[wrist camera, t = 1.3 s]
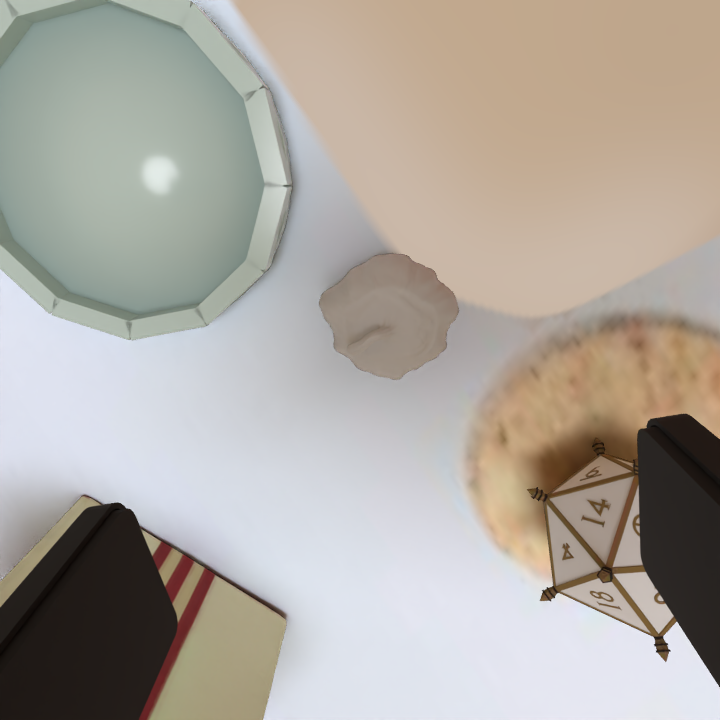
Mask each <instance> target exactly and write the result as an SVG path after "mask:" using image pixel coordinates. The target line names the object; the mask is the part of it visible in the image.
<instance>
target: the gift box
mask: <svg viewBox="0 0 720 720" xmlns="http://www.w3.org/2000/svg"><path fill="white" fill-rule="evenodd" d="M98 505H101V504H99V503H98V502H96V501H94V500H93V499H91V498H89V497H86V496H82V497H81V498H80V499H79V500H78V501H77V502H76V503H75V504H74V505H73V506H72V507H71V508H70V510H69V511H68V512H67V513H66V514H65V515H64V516H63V517H62V518H61V519H60V520H59V521H58V522H57V523H56V524H55V525H54V526H53V527H52V528H51V529H50V530H49V532H48V533H47V534H46V535H45V536H44V537H43V538H42V539H41V540H40V541H39V542H38V543H37V544H36V545H35V546H34V547H33V548H32V549H31V551H30V552H29V553H28V554H27V555H26V556H25V557H24V558H23V559H22V560H21V561H20V562H19V563H18V564H17V565H16V566H15V567H14V568H13V569H12V570H11V571H10V572H9V573H8V574H7V575H6V576H5V578H4V579H3V580H2V581H1V582H0V607H1V606H2V605H3V603H4V602H5V601H6V600H7V599H8V598H9V596H10V595H11V594H12V593H13V592H14V591H15V589H16V588H17V587H18V586H19V585H20V584H21V583H22V581H23V580H24V579H25V578H26V577H27V576H28V574H29V573H30V572H31V571H32V570H33V569H34V567H35V566H36V565H37V564H38V563H39V562H40V560H41V559H42V558H43V557H44V556H45V555H46V553H47V552H48V551H49V550H50V549H51V548H52V547H53V545H54V544H55V543H56V542H57V541H58V540H59V538H60V537H61V536H62V535H63V534H64V533H65V531H66V530H67V529H68V528H69V527H70V526H71V524H72V523H73V522H74V521H75V520H76V519H77V517H78V516H79V515H80V514H81V513H82V512H83V511H84V510H85V509H86V508H88V507H91V506H98ZM141 531H142V533H143V535H144V538H145V540H146V542H147V545H148V547H149V550H150V552H151V554H152V557H153V559H154V561H155V564H156V566H157V569H158V571H159V573H160V576H161V578H162V580H163V583H164V585H165V588H166V590H167V592H168V595H169V597H170V600H171V602H172V604H173V607H174V609H175V611H176V614H177V620H178V627H177V633H176V636H175V638H174V640H173V643H172V645H171V647H170V650H169V652H168V654H167V656H166V659H165V661H164V663H163V666H162V668H161V670H160V672H159V675H158V677H157V679H156V682H155V684H154V686H153V688H152V691H151V693H150V695H149V698H148V700H147V702H146V704H145V707H144V709H143V711H142V714H141V716H140V718H139V720H263V717H264V713H265V709H266V705H267V702H268V698H269V694H270V690H271V686H272V681H273V677H274V673H275V669H276V665H277V661H278V657H279V653H280V649H281V645H282V641H283V637H284V633H285V628H286V620H285V619H284V618H283V617H281V616H280V615H279V614H277V613H276V612H274V611H272V610H271V609H269V608H268V607H266V606H265V605H263V604H262V603H260V602H258V601H257V600H255V599H253V598H252V597H250V596H249V595H247V594H245V593H244V592H242V591H241V590H239V589H237V588H236V587H234V586H232V585H231V584H229V583H228V582H226V581H224V580H223V579H221V578H219V577H218V576H216V575H215V574H214V573H212V572H211V571H209V570H207V569H206V568H204V567H202V566H201V565H199V564H198V563H196V562H194V561H193V560H191V559H190V558H188V557H187V556H185V555H183V554H182V553H180V552H178V551H177V550H175V549H173V548H172V547H170V546H168V545H167V544H165V543H163V542H162V541H160V540H158V539H156V538H155V537H153V536H152V535H150V534H148V533H147V532H145V531H143V530H142V529H141Z"/></svg>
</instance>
